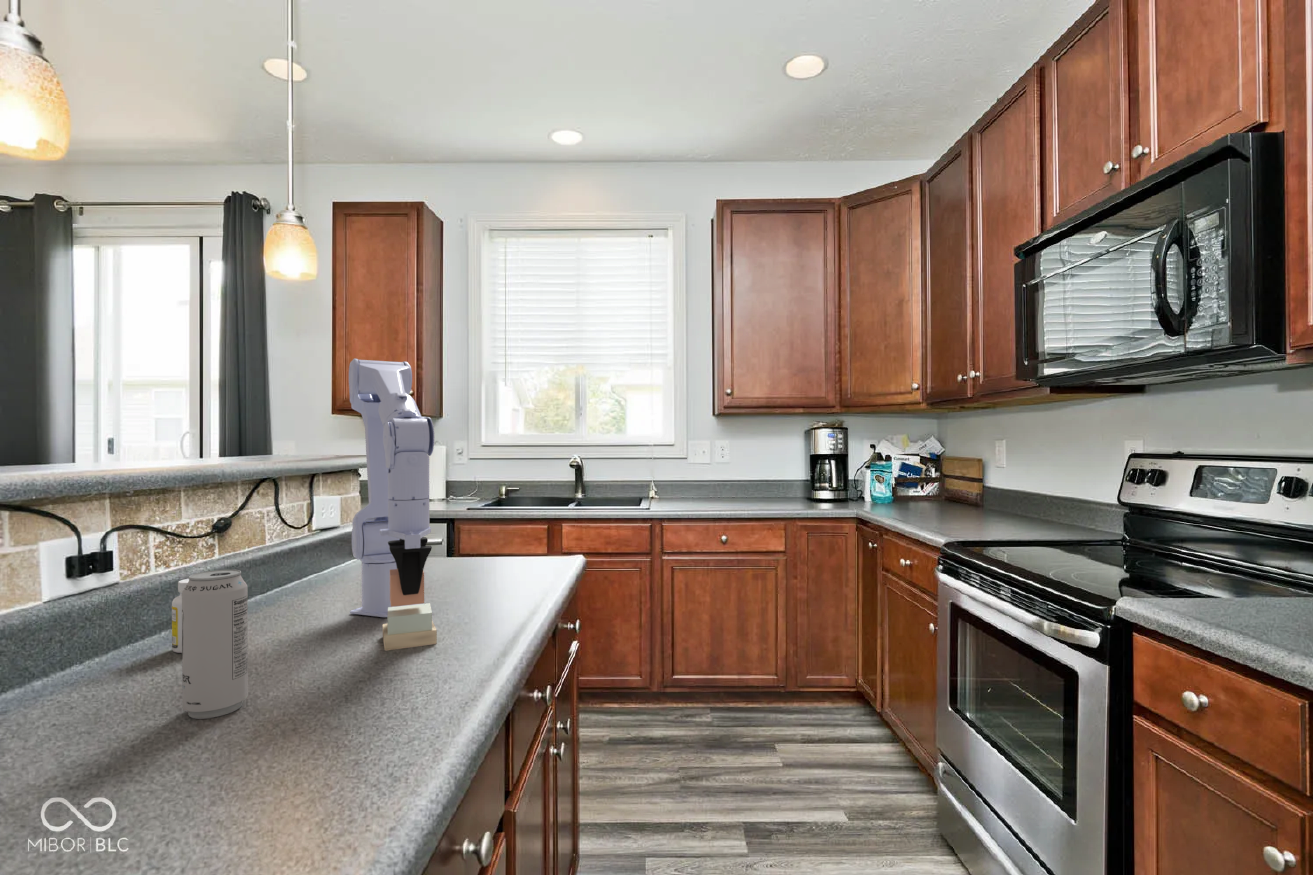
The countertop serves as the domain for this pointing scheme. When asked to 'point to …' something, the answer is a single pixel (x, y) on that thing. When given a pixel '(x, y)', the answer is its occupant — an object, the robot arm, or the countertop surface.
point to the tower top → (409, 618)
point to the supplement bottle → (177, 618)
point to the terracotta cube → (397, 595)
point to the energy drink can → (214, 643)
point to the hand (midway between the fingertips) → (409, 590)
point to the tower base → (409, 638)
